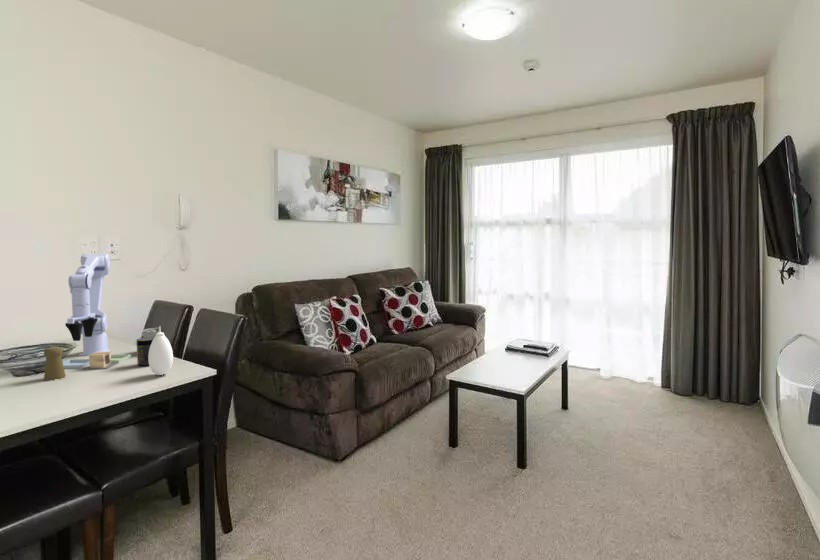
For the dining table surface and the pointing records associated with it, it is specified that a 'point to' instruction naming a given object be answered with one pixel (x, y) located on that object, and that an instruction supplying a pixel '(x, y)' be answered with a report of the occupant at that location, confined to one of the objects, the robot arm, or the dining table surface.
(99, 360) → the letter block
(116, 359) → the sage tray
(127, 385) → the dining table surface
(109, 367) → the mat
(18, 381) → the dining table surface
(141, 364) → the supplement container
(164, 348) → the white air blower bulb
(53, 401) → the dining table surface
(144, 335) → the food container
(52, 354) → the cork
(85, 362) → the blue-grey tray
